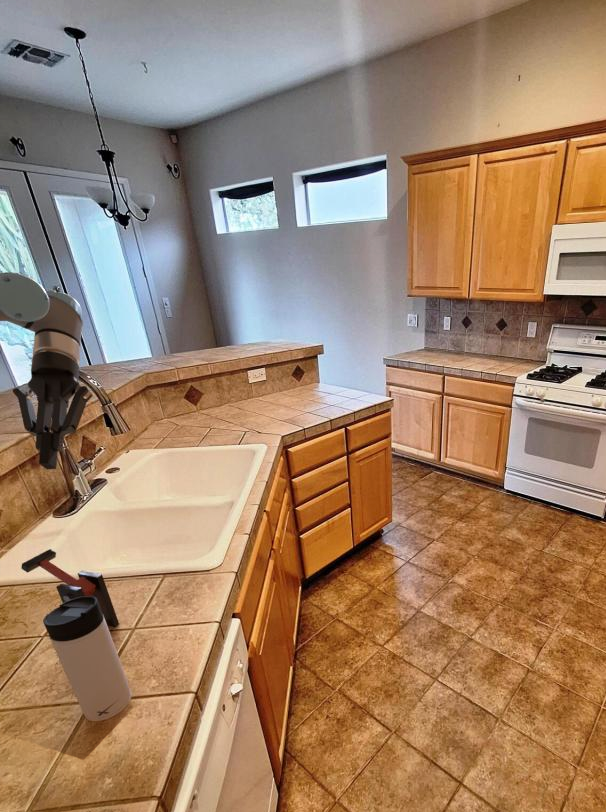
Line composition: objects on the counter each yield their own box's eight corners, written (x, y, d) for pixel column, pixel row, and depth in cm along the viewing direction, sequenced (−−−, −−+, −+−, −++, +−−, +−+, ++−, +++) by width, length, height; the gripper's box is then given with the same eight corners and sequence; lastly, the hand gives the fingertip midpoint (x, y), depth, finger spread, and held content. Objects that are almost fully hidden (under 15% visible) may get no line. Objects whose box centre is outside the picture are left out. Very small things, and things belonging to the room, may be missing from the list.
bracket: (52, 647, 77) (26, 590, 72) (96, 615, 85) (75, 561, 80) (106, 661, 75) (83, 602, 69) (146, 626, 82) (128, 571, 77)
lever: (20, 570, 73) (21, 561, 72) (49, 555, 78) (50, 546, 76) (75, 606, 73) (77, 597, 72) (100, 589, 78) (102, 580, 77)
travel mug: (115, 730, 63) (72, 625, 54) (76, 724, 64) (27, 619, 55) (145, 695, 68) (110, 594, 60) (108, 689, 69) (68, 589, 61)
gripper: (100, 371, 93) (96, 471, 85) (30, 373, 89) (19, 477, 82) (84, 348, 86) (77, 454, 78) (6, 349, 83) (-8, 460, 75)
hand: (47, 466), depth 80 cm, fingers closed
